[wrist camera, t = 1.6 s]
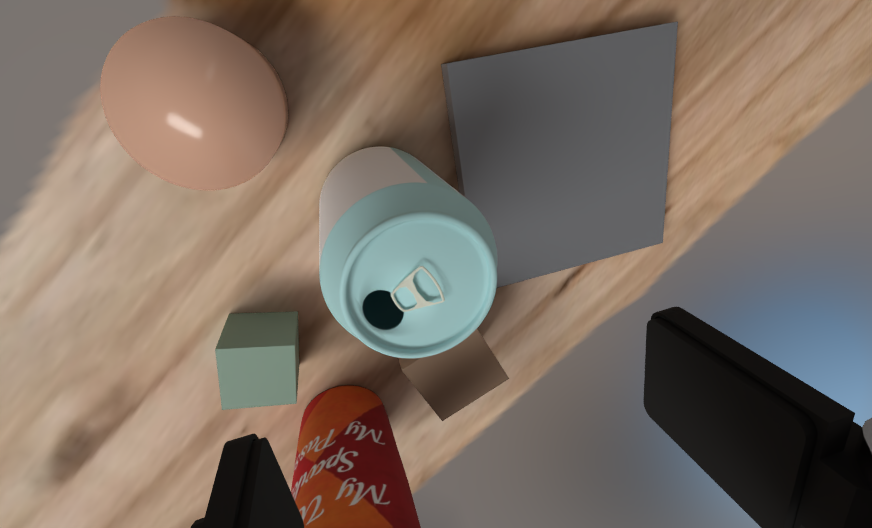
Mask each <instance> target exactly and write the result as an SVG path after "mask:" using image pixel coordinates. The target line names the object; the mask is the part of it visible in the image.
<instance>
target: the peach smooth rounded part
mask: <svg viewBox="0 0 872 528" xmlns="http://www.w3.org/2000/svg"><path fill="white" fill-rule="evenodd" d="M100 91H101V100H102V105H103V109H104V113H105V116H106V119H107V121H108V124H109V126H110V128H111V130H112V132H113V134H114V135H115V137H116V139H117V140H118V141H119V143H120V144H121V146H122V147H123V148H124V149H125V150H126V152H127V153H128V154H129V155H130V156H131V157H132V158H133V159H134V160H135V161H136V162H137V163H139V164H140V165H141V166H142V167H144V168H145V169H146V170H148V171H149V172H151V173H152V174H154V175H156V176H157V177H159V178H161V179H163V180H165V181H168V182H170V183H172V184H175V185H178V186H182V187H186V188H190V189H196V190H220V189H227V188H230V187H234V186H237V185H239V184H242V183H244V182H246V181H248V180H250V179H251V178H253V177H254V176H256V175H257V174H258V173H259V172H261V171H262V170H263V169H264V168H265V166H266V165H267V164H268V163H269V162H270V160H271V159H272V157H273V156H274V154H275V153H276V151H277V149H278V148H279V146H280V144H281V142H282V140H283V138H284V135H285V132H286V129H287V124H288V101H287V97H286V92H285V90H284V87H283V84H282V82H281V80H280V78H279V76H278V74H277V72H276V71H275V69H274V68H273V66H272V65H271V64H270V62H269V61H268V60H267V59H266V58H265V57H264V56H263V55H262V54H261V53H260V52H259V51H258V50H257V49H256V48H255V47H253V46H252V45H251V44H249V43H248V42H246V41H245V40H243V39H241V38H240V37H238V36H236V35H234V34H232V33H230V32H228V31H227V30H225V29H223V28H220V27H218V26H216V25H214V24H212V23H208V22H205V21H202V20H199V19H194V18H188V17H175V16H174V17H161V18H157V19H153V20H149V21H146V22H144V23H141V24H139V25H137V26H135V27H134V28H132V29H130V30H129V31H128V32H126V33H125V34H124V35H123V36H122V37H121V38H120V39H119V40H118V41H117V42H116V43H115V45H114V46H113V47H112V49H111V50H110V52H109V54H108V56H107V58H106V61H105V63H104V66H103V70H102V75H101V88H100Z"/></svg>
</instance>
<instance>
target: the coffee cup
mask: <svg viewBox="0 0 872 528" xmlns="http://www.w3.org/2000/svg"><path fill="white" fill-rule="evenodd" d="M291 494H292V496H293V498H294V500H295V503H296V505H297V507H298V509H299V512H300V514H301V516H302V519H303V522H304V528H421V527H420V524H419V520H418V516H417V513H416V509H415V505H414V502H413V498H412V494H411V490H410V487H409V483H408V480H407V477H406V474H405V470H404V467H403V464H402V461H401V458H400V455H399V452H398V449H397V445H396V442H395V439H394V436H393V432H392V429H391V426H390V423H389V419H388V416H387V413H386V410H385V408H384V405H383V403H382V401H381V400H380V398H379V397H378V396H377V395H376V394H375V393H374V392H372V391H370V390H369V389H366V388H364V387H360V386H354V385H344V386H338V387H334V388H331V389H328V390H326V391H324V392H322V393H321V394H319V395H318V396H316V397H315V398H314V399H313V400H312V401H311V402H310V403H309V405H308V406H307V408H306V410H305V412H304V414H303V418H302V422H301V427H300V434H299V440H298V447H297V453H296V460H295V467H294V475H293V482H292V489H291Z"/></svg>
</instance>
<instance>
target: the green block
mask: <svg viewBox="0 0 872 528" xmlns="http://www.w3.org/2000/svg"><path fill="white" fill-rule="evenodd" d="M215 351H216V360H217V369H218V378H219V387H220V396H221V405H222V410H226V409H238V408H249V407H261V406H273V405H285V404H296V403H297V390H298V376H299V334H298V312H267V313H237V314H229V316H228V318H227V321H226V323H225V326H224V328H223V331H222V333H221V336H220V339H219V341H218V344H217V346H216V349H215Z"/></svg>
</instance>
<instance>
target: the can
mask: <svg viewBox="0 0 872 528" xmlns="http://www.w3.org/2000/svg"><path fill="white" fill-rule="evenodd" d="M319 275H320V285H321V290H322V293H323V297H324V299H325V302H326V304H327V306H328V308H329V310H330V311H331V313H332V314H333V316H334V317H335V319H336V320H337V321H338V322H339V323H340V324H341V325H342V327H344V328H345V329H346V330H347V331H348V332H349V333H351V334H352V335H353V336H355V337H356V338H358V339H359V340H360V341H362V342H363V343H364V344H365V345H367V346H368V347H370V348H372V349H373V350H375V351H377V352H380V353H382V354H385V355H388V356H393V357H398V358H422V357H428V356H432V355H436V354H439V353H441V352H444V351H446V350H448V349H451V348H452V347H454V346H456V345H458V344H459V343H461V342H462V341H464V340H465V339H466V338H467V337H469V336H470V335H471V334H472V333H473V332H474V331H475V330H476V329H477V328H478V326H479V325H480V324H481V323H482V321H483V320H484V318H485V317H486V315H487V314H488V312H489V310H490V308H491V305H492V303H493V300H494V297H495V293H496V288H497V248H496V244H495V239H494V236H493V233H492V230H491V228H490V226H489V224H488V222H487V221H486V219H485V217H484V216H483V215H482V213H481V212H480V211H479V210H478V208H477V207H476V206H475V205H474V204H473V203H471V202H470V201H469V200H468V199H467V198H465V197H464V196H463V195H462V194H460V193H459V192H458V191H457V190H455V189H454V188H453V187H452V186H450V185H449V184H448V183H447V182H445V181H444V180H443V179H442V178H440V177H439V176H438V175H437V174H435V173H434V172H433V171H432V170H430V169H429V168H428V167H427V166H425V165H424V164H423V163H422V162H420V161H419V160H418V159H416V158H415V157H414V156H412V155H410V154H409V153H407V152H404V151H402V150H399V149H396V148H391V147H369V148H365V149H361V150H358V151H356V152H354V153H352V154H350V155H348V156H347V157H345V158H344V159H342V160H341V161H340V162H339V163H338V164H337V165H336V166H335V167H334V168H333V169H332V171H331V172H330V173H329V175H328V176H327V178H326V180H325V182H324V184H323V187H322V190H321V195H320V202H319Z"/></svg>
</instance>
